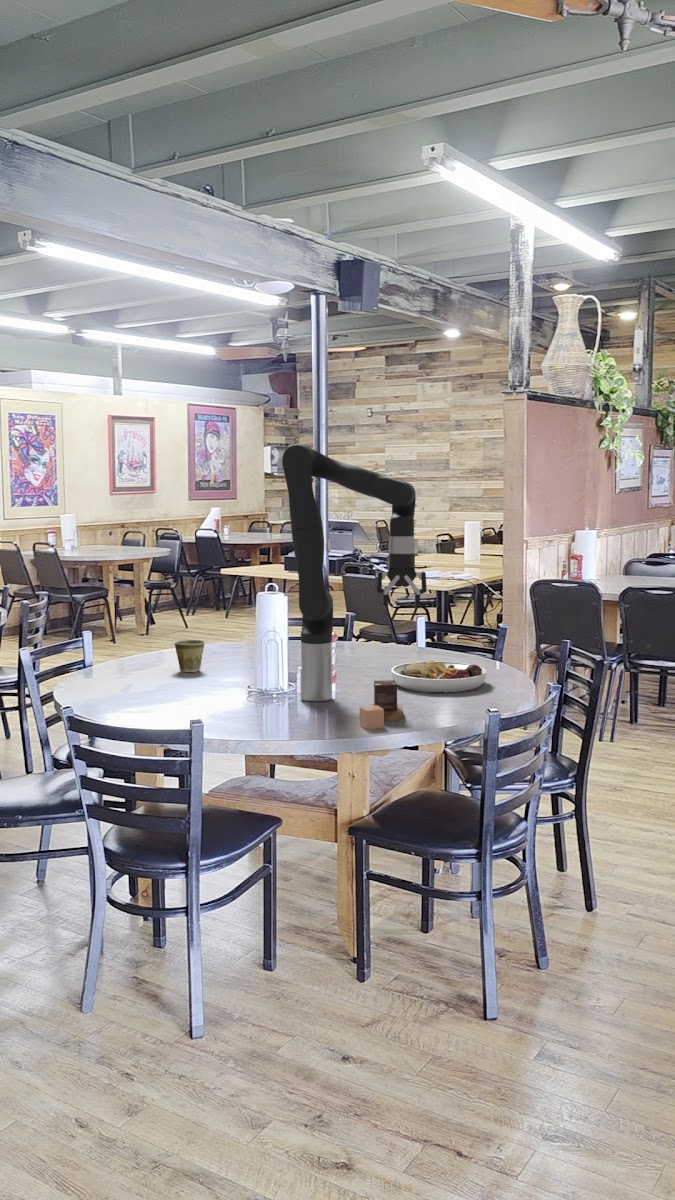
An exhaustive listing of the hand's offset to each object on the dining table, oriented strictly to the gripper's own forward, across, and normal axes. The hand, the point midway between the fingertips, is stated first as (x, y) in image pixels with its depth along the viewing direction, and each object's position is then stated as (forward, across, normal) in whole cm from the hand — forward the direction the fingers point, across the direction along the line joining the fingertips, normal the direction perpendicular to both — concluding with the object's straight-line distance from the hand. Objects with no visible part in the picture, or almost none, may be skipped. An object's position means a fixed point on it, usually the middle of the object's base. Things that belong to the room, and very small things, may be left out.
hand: (401, 607), depth 292 cm
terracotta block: (+28, -9, -28) cm, 41 cm away
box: (+26, -5, -18) cm, 32 cm away
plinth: (+29, -5, -18) cm, 34 cm away
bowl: (+29, +13, +26) cm, 41 cm away
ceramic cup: (+28, -70, +49) cm, 90 cm away
